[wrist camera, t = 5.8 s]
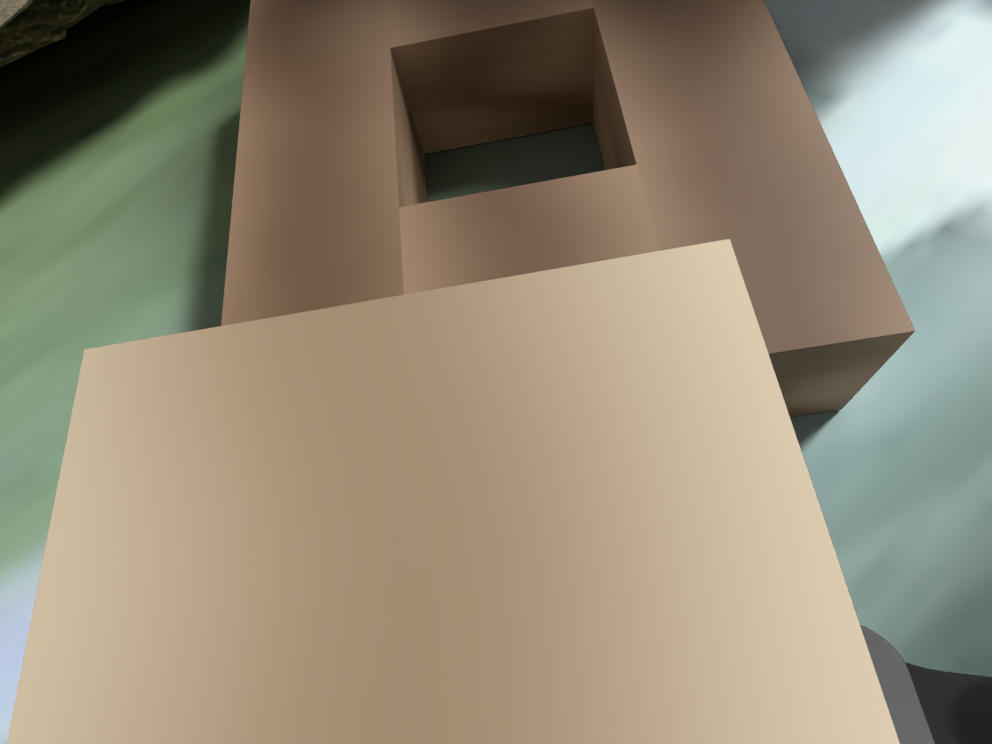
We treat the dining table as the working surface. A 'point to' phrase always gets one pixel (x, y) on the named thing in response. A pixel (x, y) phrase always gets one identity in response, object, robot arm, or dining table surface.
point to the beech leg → (449, 529)
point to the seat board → (560, 202)
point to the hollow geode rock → (39, 23)
